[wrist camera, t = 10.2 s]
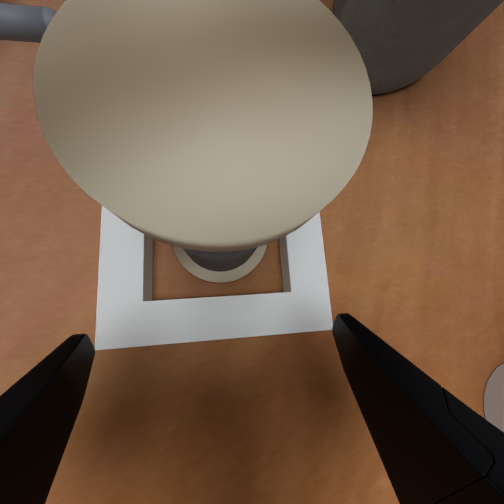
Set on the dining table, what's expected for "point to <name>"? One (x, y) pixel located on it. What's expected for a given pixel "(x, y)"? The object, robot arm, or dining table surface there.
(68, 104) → the disc
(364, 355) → the robot arm
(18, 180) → the dining table surface
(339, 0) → the vase
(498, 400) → the cylindrical container
